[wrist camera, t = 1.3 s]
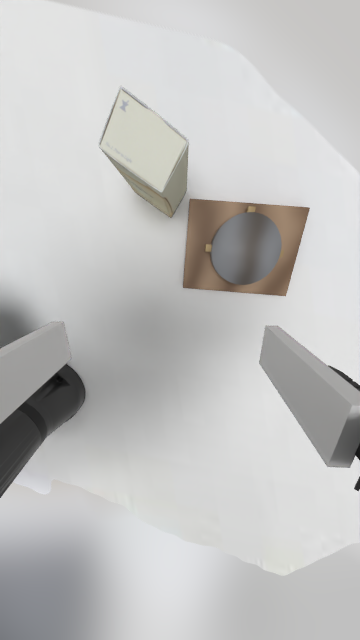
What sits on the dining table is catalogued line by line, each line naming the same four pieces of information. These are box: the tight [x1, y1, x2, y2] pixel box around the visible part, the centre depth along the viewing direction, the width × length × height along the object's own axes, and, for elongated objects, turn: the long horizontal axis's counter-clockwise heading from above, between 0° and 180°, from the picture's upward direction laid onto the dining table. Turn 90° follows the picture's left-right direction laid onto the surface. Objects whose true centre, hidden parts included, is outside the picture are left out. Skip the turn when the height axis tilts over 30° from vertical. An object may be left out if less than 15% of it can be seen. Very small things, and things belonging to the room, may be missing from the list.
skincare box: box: [99, 86, 189, 218], centre depth 20 cm, size 6×4×12 cm
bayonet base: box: [183, 199, 310, 296], centre depth 26 cm, size 16×12×4 cm
